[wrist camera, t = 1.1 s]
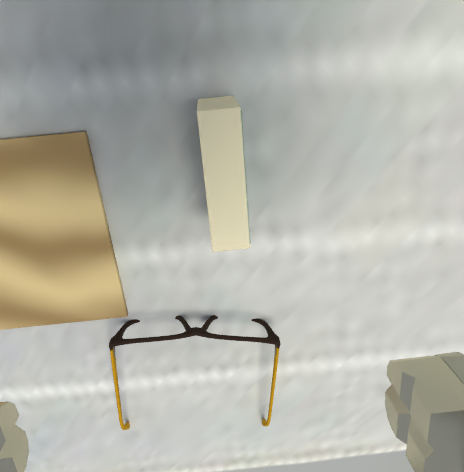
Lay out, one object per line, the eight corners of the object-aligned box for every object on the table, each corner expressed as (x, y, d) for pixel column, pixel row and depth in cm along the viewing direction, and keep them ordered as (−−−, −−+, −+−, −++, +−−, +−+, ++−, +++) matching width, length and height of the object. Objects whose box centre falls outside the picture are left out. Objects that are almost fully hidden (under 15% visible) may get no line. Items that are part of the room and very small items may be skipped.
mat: (-97, 148, 29) (-101, 149, 29) (86, 131, 29) (84, 132, 29) (-20, 329, 36) (-23, 331, 35) (128, 313, 36) (127, 316, 36)
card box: (198, 98, 29) (196, 111, 23) (233, 95, 29) (241, 107, 23) (210, 215, 33) (212, 251, 27) (242, 212, 33) (250, 248, 27)
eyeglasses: (274, 307, 37) (282, 335, 34) (263, 420, 43) (269, 454, 40) (116, 308, 36) (106, 337, 33) (127, 424, 42) (120, 459, 39)
